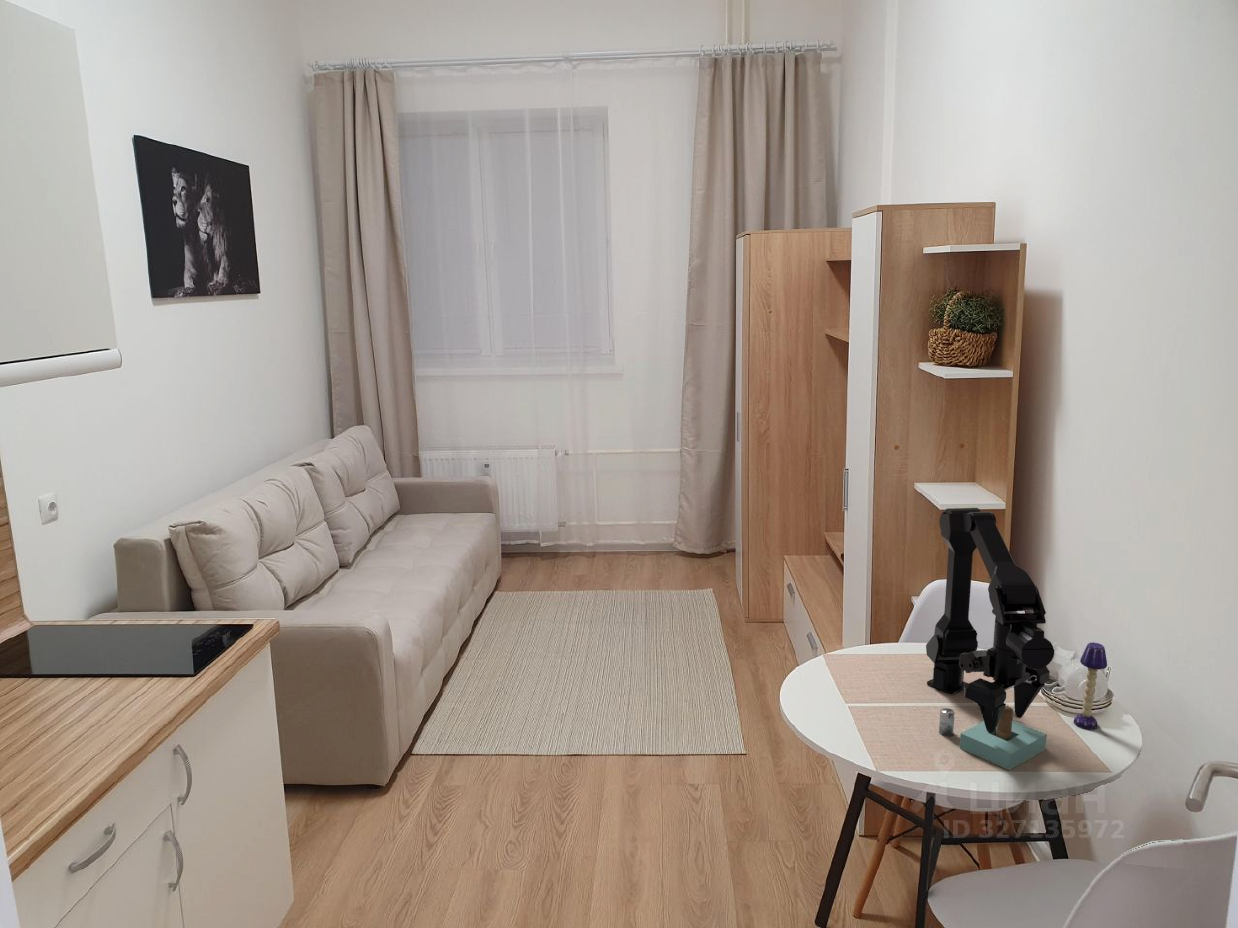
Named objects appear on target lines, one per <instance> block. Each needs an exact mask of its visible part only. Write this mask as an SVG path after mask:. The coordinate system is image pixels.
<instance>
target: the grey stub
mask: <svg viewBox="0 0 1238 928" xmlns="http://www.w3.org/2000/svg"><path fill="white" fill-rule="evenodd" d="M954 726H955V710H954V709H951V708H949V707H946V708H945V707H944V708H940V710H939V727H938V733H939V734H940V735H941V736H944V737H952V736H953V735H954V729H955V728H954Z"/></svg>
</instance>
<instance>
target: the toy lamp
mask: <svg viewBox="0 0 1238 928" xmlns="http://www.w3.org/2000/svg"><path fill="white" fill-rule="evenodd" d="M1079 662H1080V664H1081V665H1082V666H1084V667H1086V668H1087V672H1086V678H1087V679H1086V681H1085V687H1084V692H1085V693H1084V694H1083V702H1082V709H1081V713H1079V714H1077V715H1075V717H1074V719H1073V723H1074V724H1075V726H1077V727H1079V728H1082V729H1085V730H1095V729H1097V728H1098V725H1099V724H1098V721H1097V718H1096V717H1094V716H1093V715H1092V713H1093V712H1092V711H1093V710H1092V709H1093V706H1094V704H1093V702H1094V700H1095V692H1096V689H1095V688H1096V685H1097V678H1098V671H1099V670H1105V669H1107V667H1108V659H1107V653H1106V648H1105V646H1104V645H1103V644H1101V643H1098V642H1094V641H1093V642H1088V643H1087V645H1086V646H1085V648H1084V650H1083V653H1082V655H1081V657H1080V661H1079Z"/></svg>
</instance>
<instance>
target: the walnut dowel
mask: <svg viewBox="0 0 1238 928" xmlns="http://www.w3.org/2000/svg"><path fill="white" fill-rule="evenodd" d="M1013 715H1014V708H1012V707H1011V706H1008V705H1006V706H1005V708H1004V710H1003V713H1002V715H1001V717H1000V720H999V722H998V724H997V727H996V737H999V738H1001V739H1003V740H1006V741H1009V740H1011V731H1012V720H1013V718H1014V716H1013Z"/></svg>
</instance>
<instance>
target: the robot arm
mask: <svg viewBox="0 0 1238 928" xmlns="http://www.w3.org/2000/svg"><path fill="white" fill-rule="evenodd" d="M938 520H939V521H938V522H939V528H940V535H941V538H942V539H943V541H944V543H945V544H946V546H947V548H948V551H947V553H948V554H947V565H946V582H945V585H946V586H945V598H944V612H943V614H942V616H941V617H940V618H939V620H938V621H937V622H936V624H935V628H934V632H933V633H934V634H933V636H931V638H930V639H929V640H928V642H927V643H926V645H925V649H926V656H927V658H929V659H930V660H931V662H932V663H933V669H932V670H933V672H932V674H933V675H932V679H930V680H927V681H926V684H927V685H928V686H931V687H933V688H935V689H937V690H941V691H943V692H945V693H948V694H951V695H954V694H956V693H959V692H961V691H963V690H964V691H963V697H964V698H965V699H968V700H969V701H971V702H973V703H975V704H976V705H977V706H978V708H979V711H980V713H981V716H982V720H983V721H984V723H985V726H986V730H987V732H989V733H994V731H995V729H996V727H997V724H998V722H999V720H1000V717H1001V715H1002V713H1003V710H1004V708H1005V706H1007V704H1006V703H1005V701H1006V699H1007V690H1010V689H1012V688H1013V700H1014V701H1013V702H1014V705H1013V707H1014V708H1013V710H1014V716H1015V718H1018V719H1022V718H1023V717H1024V715H1025V714H1026V712H1027V710H1028V709H1029V708H1030V707H1031V705H1032V703H1033V701H1034V700H1035V698H1036V697H1037V696H1038V695H1039V693H1040V692H1041V690H1042V689H1043V688H1044V687H1045V685H1046V684H1045V683H1047V682H1050V673H1051V672H1050V670H1049V668H1048V665H1050V664H1051V662H1052V661H1053V659H1054V657H1055V648H1054V646H1053V644H1052V642H1051V641H1050V640H1049V639H1048V638H1046V637H1045V630H1044V629H1042V628H1041V627H1038V625H1039V624H1040V625H1042V624H1043V625H1045V624H1046V622H1047V621H1046V617H1045V616H1046V613H1047V611H1046V609H1045V607H1044V603H1043V600H1042V598H1041V597H1042V596H1041V593H1040V591H1039V588H1038V587H1037V585H1036V584H1035V582H1034V581H1033V579H1032V577H1031V576H1030V575H1029V573H1028V572H1027V571H1025V570H1024V569H1022V568H1020V567H1019V566H1017V564H1016V563H1015V561H1014V559H1013V557H1012V555H1011V552H1010V551H1009V549H1008V546H1007V544H1006V542H1005V540H1004V538H1003V536H1002V534H1001V532H1000V530H999V528H998V526H997V518H996V515H995V514H994V512H990V511H981V510H980V508H978V507H954V508H952V507H951V508H949V507H948V508H946V509H945V510H944V511H943V512H942V513H941V514H940V516H939V519H938ZM976 549H977V551H978V554H979V555H980V558H981V559H982V561H983V564H984V566H985V569H986V572H987V573H988V576H989V579H990V581H989V584H988V587H987V591H988V597H989V602H990V605H991V607H992V610H991V614H993V615H994V616H995V618H994V619H995V620H994V630H993V643H992V644H993V645H992V647H990V648H988V649H983V650H982V649H981V650H979V649H978V647H979V645H978V644H979V641H978V639H977V638H978V632H977V630H976V629H975V628H974V625H973V624H972V623H971V621H970V620H969V618H970V617H969V616H970V605H971V602H970V601H971V591H972V590H971V587H972V574H973V561H974V552H975V551H976ZM1030 611H1032V612H1030ZM1021 612H1023V613H1021ZM1024 612H1025V613H1024ZM971 673H983V674H982V675H983V676H984V677H987V678H992V680H993V681H992V682H991V681H989V680H986V679H983V678H981V677H980V678H978V679H975V680H973V681H970V682H966V681H964V677H965V675H964V674H971Z"/></svg>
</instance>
